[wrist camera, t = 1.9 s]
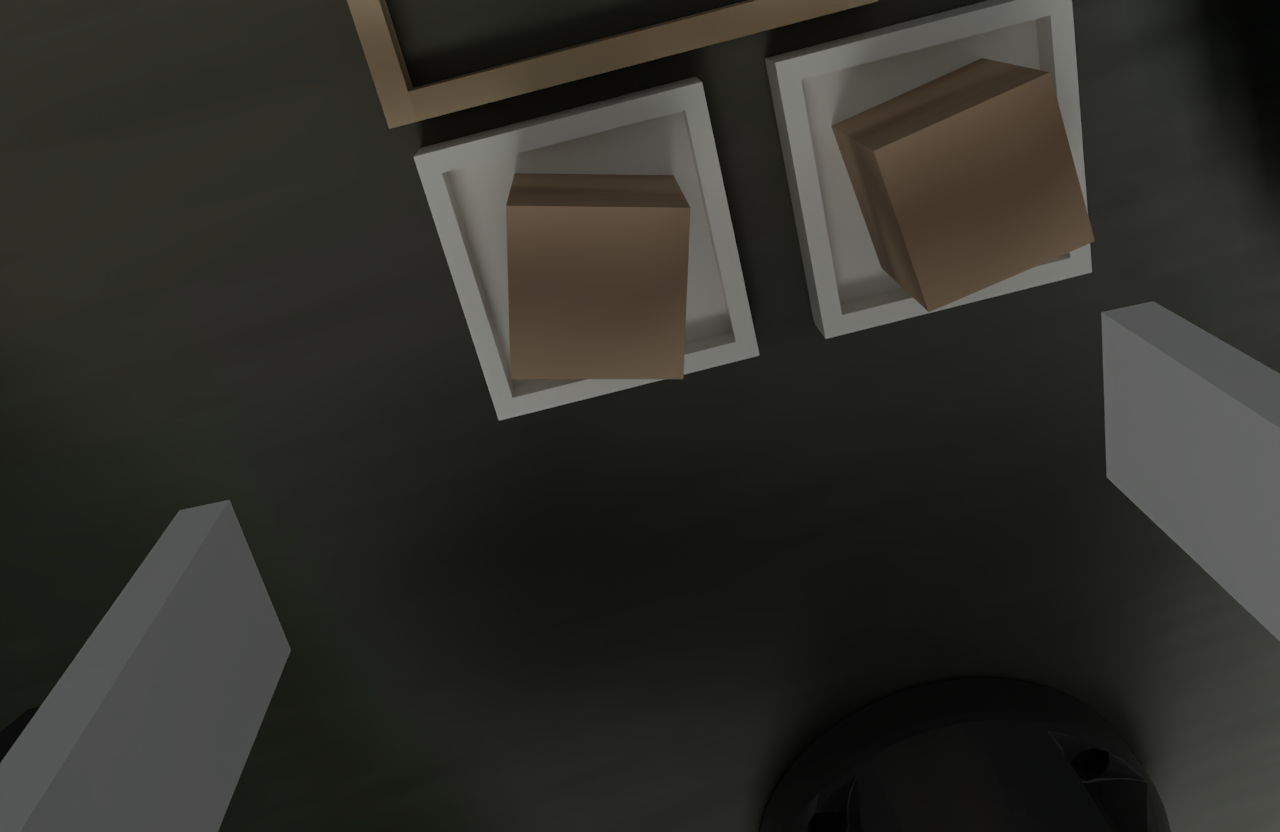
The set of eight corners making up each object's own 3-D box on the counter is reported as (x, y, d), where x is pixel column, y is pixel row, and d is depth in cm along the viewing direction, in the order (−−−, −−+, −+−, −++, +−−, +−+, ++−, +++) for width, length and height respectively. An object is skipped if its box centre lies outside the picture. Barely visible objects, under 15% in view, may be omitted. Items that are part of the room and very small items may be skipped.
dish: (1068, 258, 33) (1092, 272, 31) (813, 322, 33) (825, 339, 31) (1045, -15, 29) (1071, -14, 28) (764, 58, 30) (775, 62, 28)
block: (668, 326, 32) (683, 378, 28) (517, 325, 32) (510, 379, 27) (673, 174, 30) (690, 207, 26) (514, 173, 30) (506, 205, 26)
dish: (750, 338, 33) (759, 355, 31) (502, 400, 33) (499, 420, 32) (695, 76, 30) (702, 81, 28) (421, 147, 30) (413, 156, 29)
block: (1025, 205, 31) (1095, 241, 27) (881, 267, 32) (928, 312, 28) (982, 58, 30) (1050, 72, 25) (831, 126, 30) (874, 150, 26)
